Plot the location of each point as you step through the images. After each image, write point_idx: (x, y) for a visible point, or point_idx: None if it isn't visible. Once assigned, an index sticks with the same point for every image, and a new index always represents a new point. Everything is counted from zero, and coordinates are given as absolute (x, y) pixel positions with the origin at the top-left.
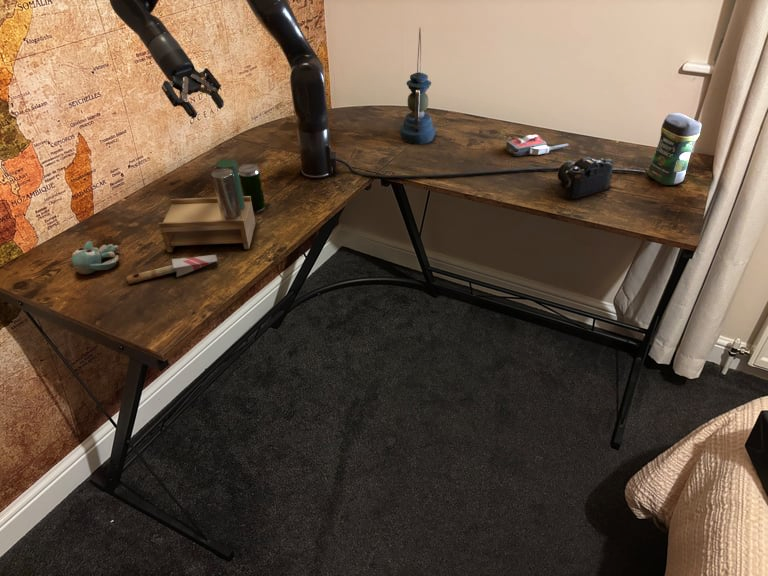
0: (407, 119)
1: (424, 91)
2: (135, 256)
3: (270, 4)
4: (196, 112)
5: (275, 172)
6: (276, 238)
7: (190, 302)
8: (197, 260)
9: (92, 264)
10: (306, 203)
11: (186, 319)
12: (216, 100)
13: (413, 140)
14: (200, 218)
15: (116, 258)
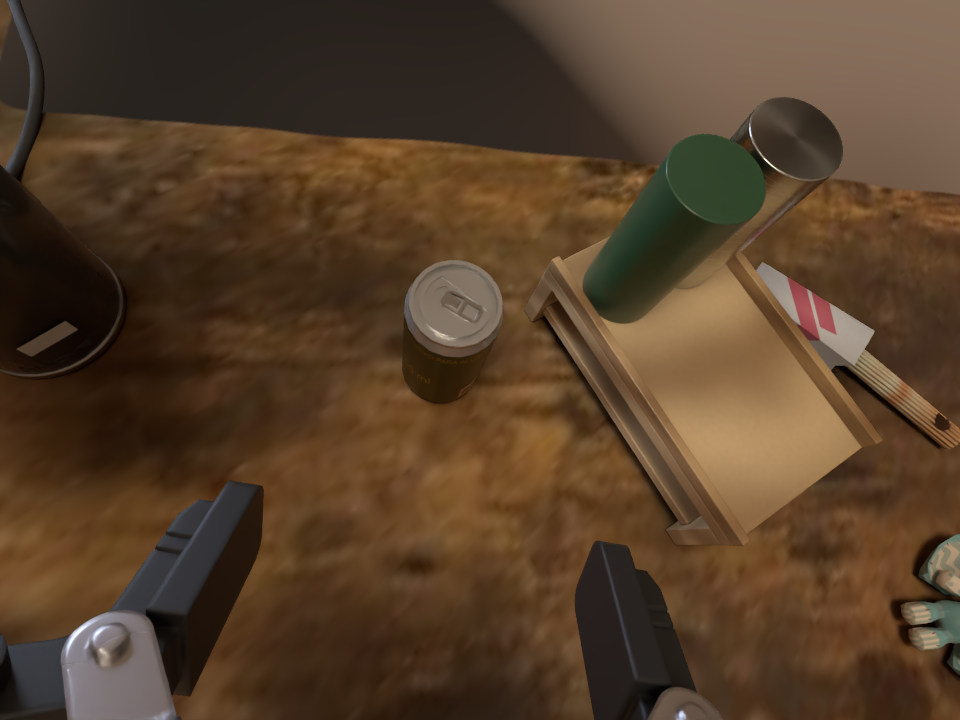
0: None
1: None
2: (867, 538)
3: None
4: (605, 544)
5: (112, 487)
6: (559, 207)
7: (880, 245)
8: (802, 305)
9: None
10: (328, 227)
11: (917, 217)
12: (228, 575)
13: None
14: (742, 353)
15: (937, 559)
